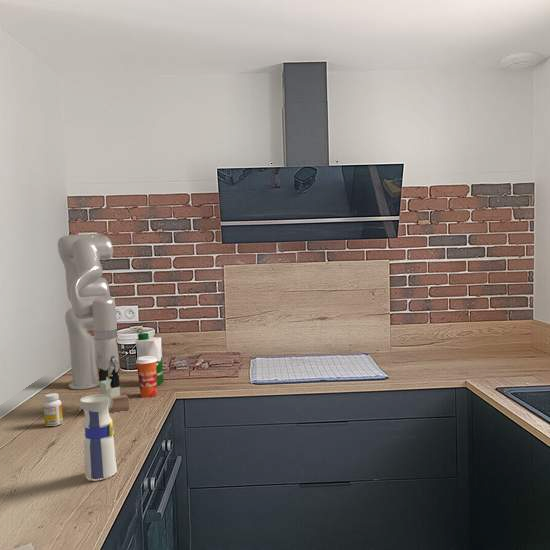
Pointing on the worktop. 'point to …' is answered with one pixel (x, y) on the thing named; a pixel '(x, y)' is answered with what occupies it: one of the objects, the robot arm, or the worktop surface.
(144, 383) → the paper cup
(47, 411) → the supplement bottle
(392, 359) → the worktop surface
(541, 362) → the worktop surface
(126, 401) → the walnut block
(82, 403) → the white blue vase
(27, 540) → the worktop surface
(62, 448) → the worktop surface
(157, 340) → the milk carton
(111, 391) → the sage block
